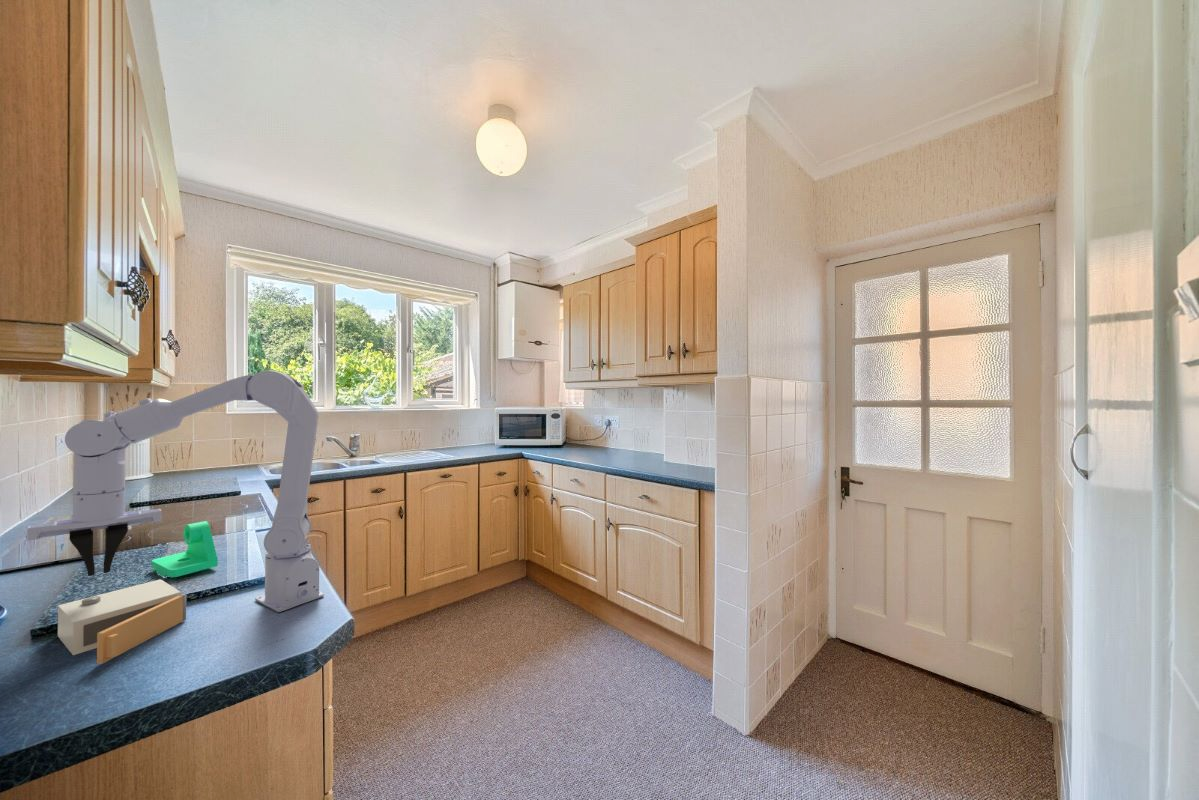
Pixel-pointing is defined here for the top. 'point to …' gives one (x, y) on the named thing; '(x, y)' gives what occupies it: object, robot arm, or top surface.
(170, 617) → the door
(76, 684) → the top surface
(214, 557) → the camera mount
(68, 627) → the housing
